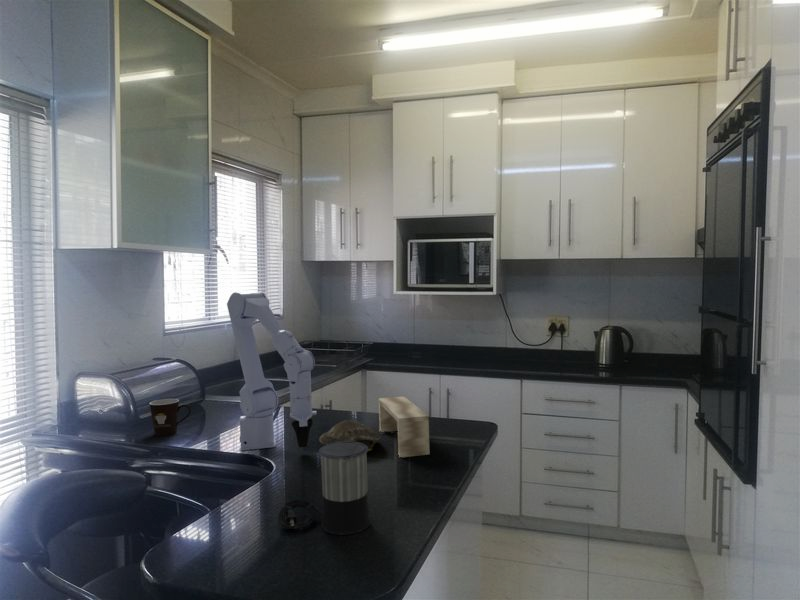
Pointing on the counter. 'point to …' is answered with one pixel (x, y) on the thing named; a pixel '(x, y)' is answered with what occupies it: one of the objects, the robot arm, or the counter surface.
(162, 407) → the coffee mug
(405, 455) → the birch shelf
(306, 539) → the counter surface
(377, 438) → the turtle shell
